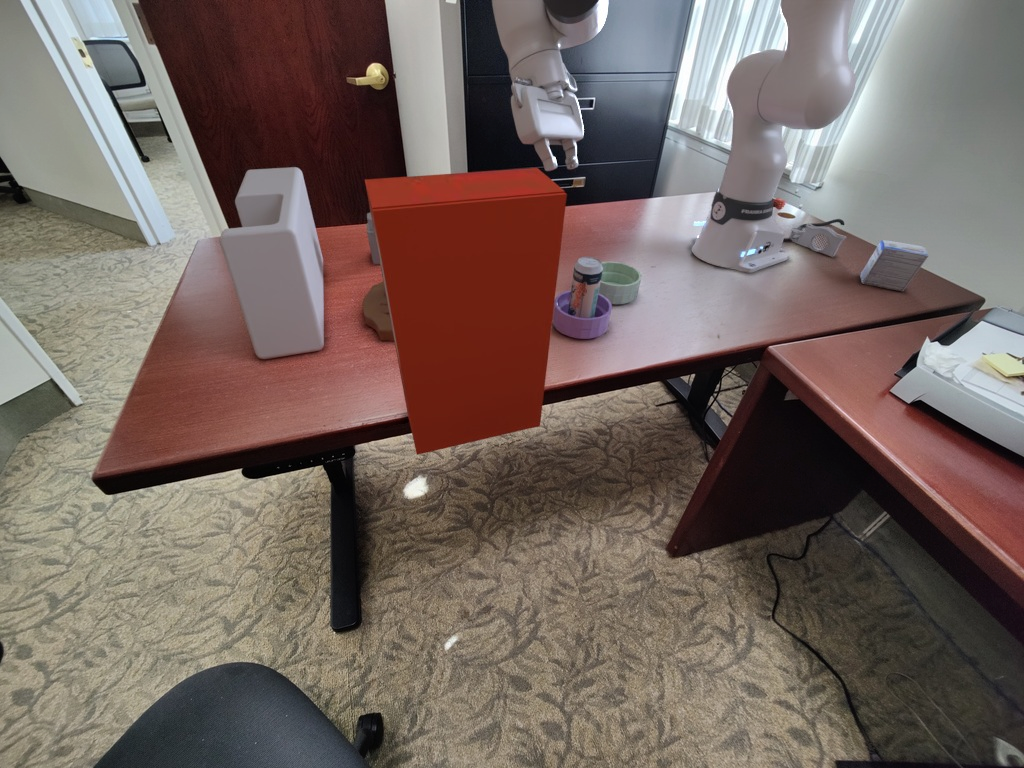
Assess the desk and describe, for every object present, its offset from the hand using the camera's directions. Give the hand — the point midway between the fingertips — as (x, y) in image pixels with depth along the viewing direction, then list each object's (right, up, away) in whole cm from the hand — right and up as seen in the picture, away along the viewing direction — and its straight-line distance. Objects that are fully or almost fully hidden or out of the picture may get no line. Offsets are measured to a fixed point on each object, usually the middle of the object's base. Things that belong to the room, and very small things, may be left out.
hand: (563, 169), depth 78 cm
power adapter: (-39, -10, +21) cm, 45 cm away
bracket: (-51, -22, +7) cm, 56 cm away
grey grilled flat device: (+66, -4, +32) cm, 74 cm away
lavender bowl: (+4, -27, +3) cm, 28 cm away
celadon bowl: (+11, -19, +12) cm, 26 cm away
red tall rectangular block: (-15, -44, -16) cm, 49 cm away
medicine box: (+73, -16, +19) cm, 77 cm away
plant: (-27, -24, +5) cm, 37 cm away
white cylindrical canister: (+3, -27, +3) cm, 27 cm away
